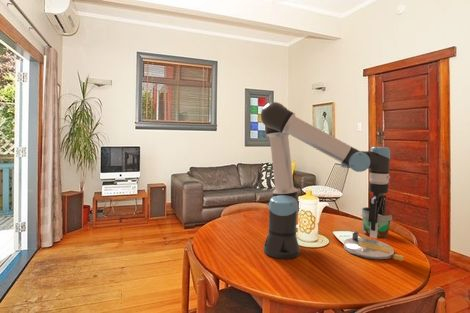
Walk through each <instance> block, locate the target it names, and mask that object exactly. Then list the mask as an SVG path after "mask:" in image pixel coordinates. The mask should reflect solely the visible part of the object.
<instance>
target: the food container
mask: <svg viewBox="0 0 470 313" xmlns="http://www.w3.org/2000/svg"><path fill="white" fill-rule="evenodd" d="M361 217H362V220H363V221H362V224H363V225H364V231H363V234H364V235H365V236H366V237H369V238H371V237H370V222H368V220H369V214H368V213H365V212H362V211H361ZM391 221H393V216H392V214H390V215H386V214H385V215H380V214H378V218H377V223H378V229H377V239H378V240H379V239H383V240H384V239H387V238H388V237H389V230H390V225H391Z"/></svg>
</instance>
